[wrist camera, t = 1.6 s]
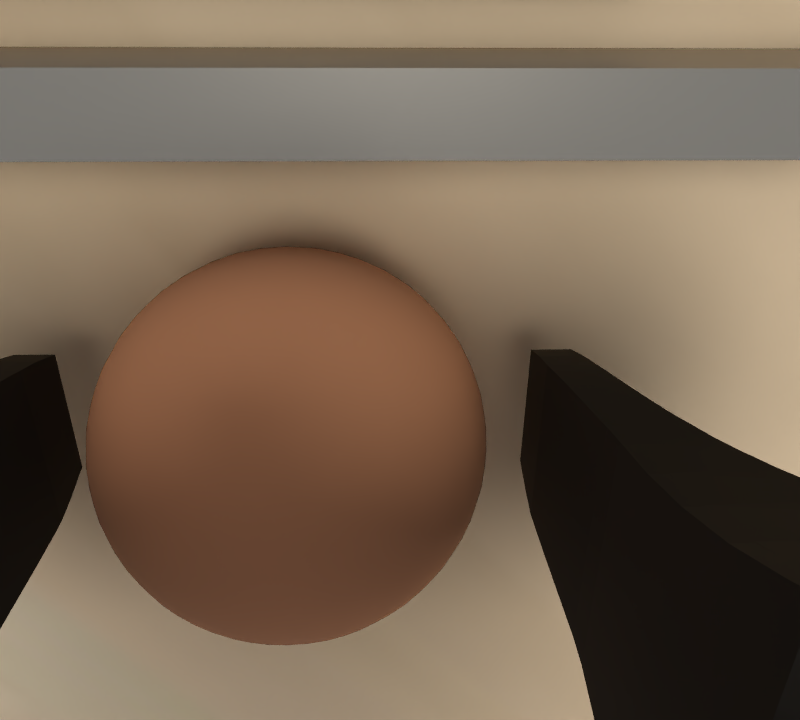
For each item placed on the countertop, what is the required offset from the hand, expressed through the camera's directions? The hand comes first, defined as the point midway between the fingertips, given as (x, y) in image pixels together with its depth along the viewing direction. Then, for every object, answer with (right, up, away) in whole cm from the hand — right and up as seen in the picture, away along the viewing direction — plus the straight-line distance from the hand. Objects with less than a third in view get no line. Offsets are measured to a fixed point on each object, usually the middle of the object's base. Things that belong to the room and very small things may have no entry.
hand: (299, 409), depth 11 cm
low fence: (0, +5, 0) cm, 5 cm away
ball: (0, 0, -1) cm, 1 cm away
